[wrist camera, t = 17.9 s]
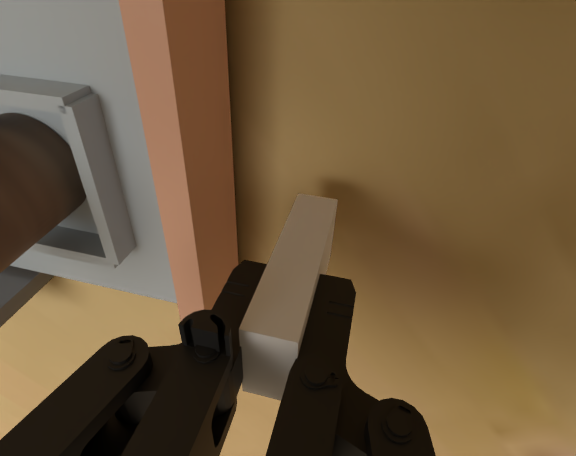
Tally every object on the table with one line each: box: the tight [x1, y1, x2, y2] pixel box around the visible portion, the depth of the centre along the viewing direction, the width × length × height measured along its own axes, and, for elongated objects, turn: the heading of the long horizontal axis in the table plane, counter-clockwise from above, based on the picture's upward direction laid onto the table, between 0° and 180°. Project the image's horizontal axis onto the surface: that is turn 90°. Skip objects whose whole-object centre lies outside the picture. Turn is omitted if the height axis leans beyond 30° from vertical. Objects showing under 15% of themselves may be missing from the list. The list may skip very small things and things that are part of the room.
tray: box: [0, 0, 238, 321], centre depth 17 cm, size 20×17×4 cm
